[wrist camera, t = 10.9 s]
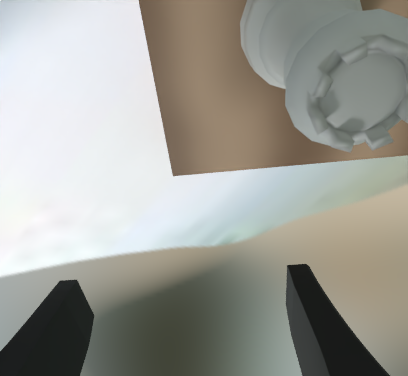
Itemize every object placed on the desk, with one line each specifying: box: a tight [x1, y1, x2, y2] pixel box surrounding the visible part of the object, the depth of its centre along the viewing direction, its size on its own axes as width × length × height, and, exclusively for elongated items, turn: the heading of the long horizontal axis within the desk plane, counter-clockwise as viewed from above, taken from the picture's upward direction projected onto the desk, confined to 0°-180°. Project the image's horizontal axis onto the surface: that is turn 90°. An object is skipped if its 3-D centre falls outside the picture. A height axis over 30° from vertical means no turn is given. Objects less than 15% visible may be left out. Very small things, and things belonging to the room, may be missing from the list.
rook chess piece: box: [240, 0, 408, 153], centre depth 11 cm, size 4×4×8 cm
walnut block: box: [139, 0, 408, 176], centre depth 16 cm, size 12×12×3 cm
